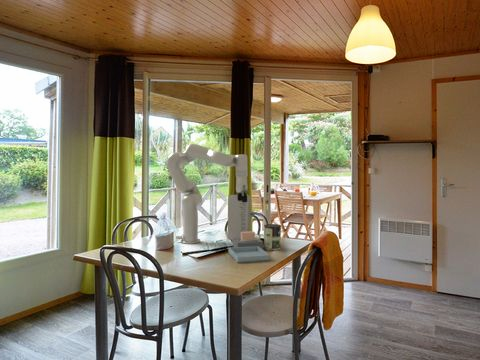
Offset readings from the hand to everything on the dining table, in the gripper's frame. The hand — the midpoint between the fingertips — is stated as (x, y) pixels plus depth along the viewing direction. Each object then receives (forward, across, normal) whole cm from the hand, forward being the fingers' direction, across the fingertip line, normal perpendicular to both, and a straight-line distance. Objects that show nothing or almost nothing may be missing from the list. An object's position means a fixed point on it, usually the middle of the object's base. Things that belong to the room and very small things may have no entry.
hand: (242, 201), depth 210 cm
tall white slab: (+28, -18, +2) cm, 33 cm away
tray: (+28, +24, -5) cm, 38 cm away
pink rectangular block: (+28, +6, +1) cm, 29 cm away
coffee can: (+29, +10, +16) cm, 34 cm away
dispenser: (+28, +6, +1) cm, 29 cm away
